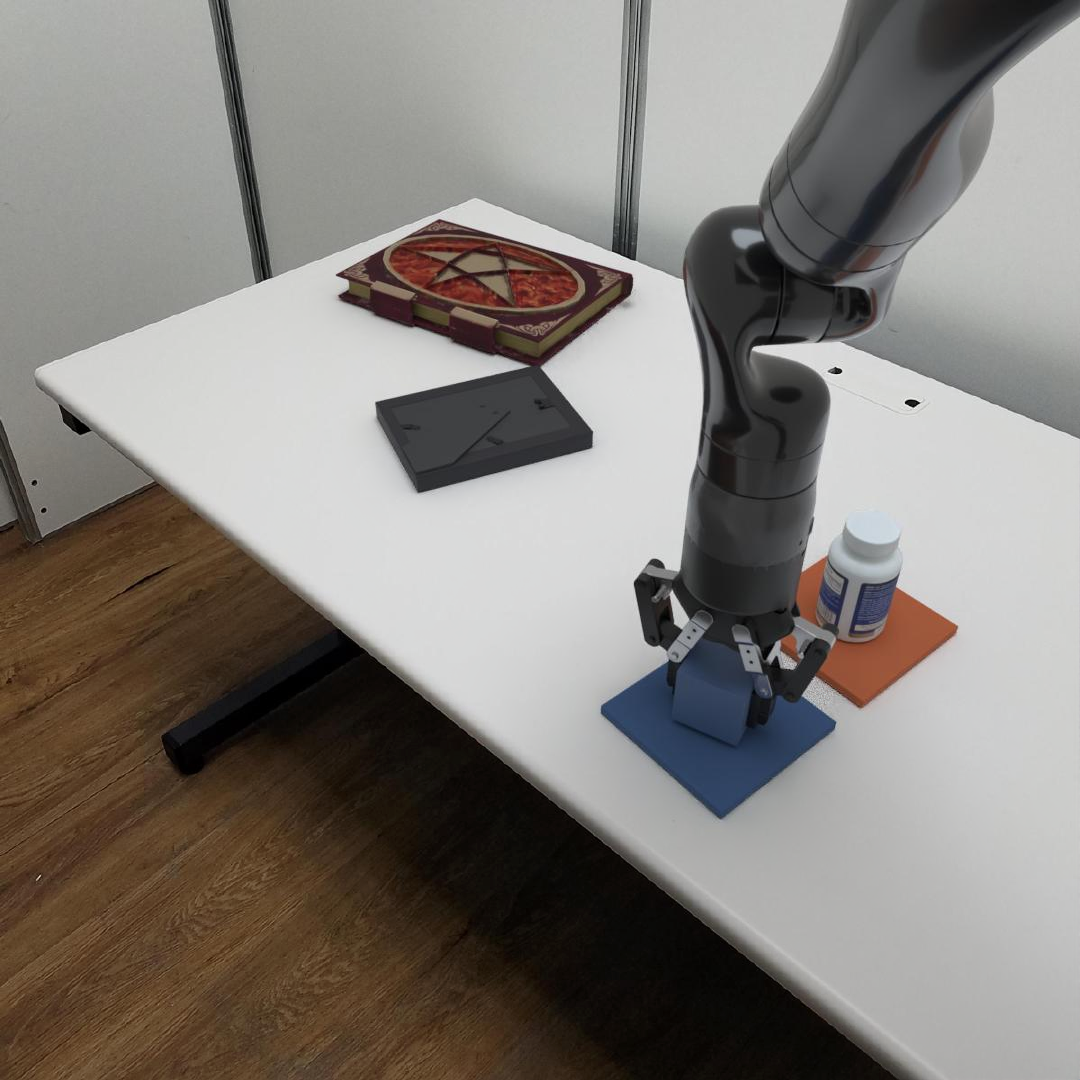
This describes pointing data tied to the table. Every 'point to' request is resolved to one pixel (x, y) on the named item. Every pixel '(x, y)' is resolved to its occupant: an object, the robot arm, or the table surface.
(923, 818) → the table surface
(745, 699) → the blue block
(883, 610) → the pill bottle
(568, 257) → the book
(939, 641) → the terracotta mat
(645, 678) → the blue mat
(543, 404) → the picture frame
